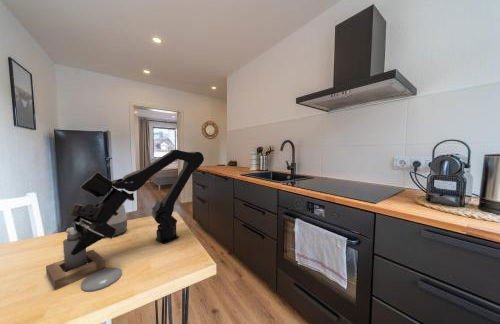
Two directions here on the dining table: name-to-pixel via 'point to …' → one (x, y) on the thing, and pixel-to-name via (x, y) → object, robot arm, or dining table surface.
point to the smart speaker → (119, 221)
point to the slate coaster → (101, 279)
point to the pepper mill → (68, 246)
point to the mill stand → (74, 270)
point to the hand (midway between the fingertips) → (68, 252)
